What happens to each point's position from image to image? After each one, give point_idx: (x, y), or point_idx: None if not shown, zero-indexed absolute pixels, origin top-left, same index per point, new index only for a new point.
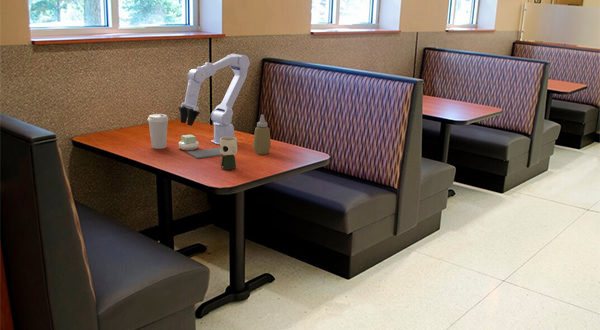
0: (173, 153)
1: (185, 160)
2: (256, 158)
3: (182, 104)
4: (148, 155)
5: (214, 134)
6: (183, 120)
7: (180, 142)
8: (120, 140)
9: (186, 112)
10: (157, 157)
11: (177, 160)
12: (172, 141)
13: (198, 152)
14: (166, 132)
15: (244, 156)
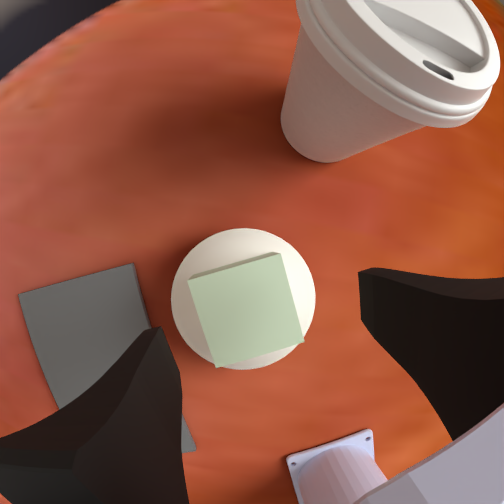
0: (146, 180)
1: (9, 229)
2: None
3: (414, 470)
4: (150, 53)
5: (348, 471)
6: (376, 307)
7: (255, 242)
8: None
9: (450, 388)
10: (96, 93)
11: (18, 189)
12: (429, 225)
13: (104, 328)
14: (334, 131)
15: None
